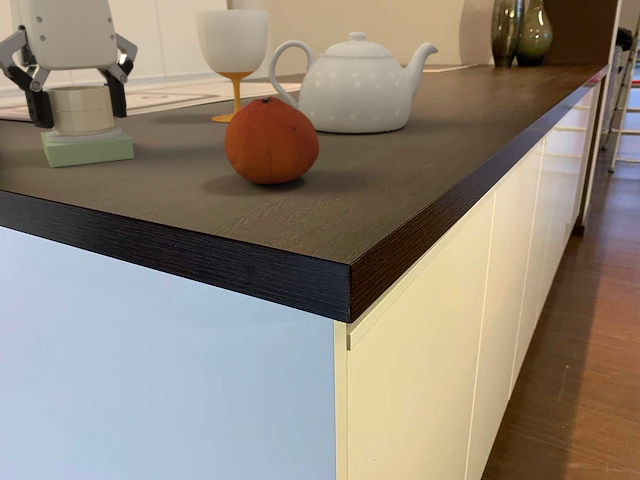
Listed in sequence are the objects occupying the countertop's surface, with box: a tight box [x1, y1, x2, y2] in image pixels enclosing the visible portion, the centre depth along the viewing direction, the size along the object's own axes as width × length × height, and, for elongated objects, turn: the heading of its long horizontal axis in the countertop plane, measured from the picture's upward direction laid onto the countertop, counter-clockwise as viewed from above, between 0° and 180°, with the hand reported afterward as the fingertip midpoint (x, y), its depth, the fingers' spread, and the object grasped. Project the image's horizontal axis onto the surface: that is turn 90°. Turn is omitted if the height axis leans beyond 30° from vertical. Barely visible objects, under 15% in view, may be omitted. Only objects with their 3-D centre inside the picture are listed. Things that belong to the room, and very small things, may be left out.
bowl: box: [44, 84, 116, 136], centre depth 63 cm, size 7×7×5 cm
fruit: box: [223, 95, 320, 185], centre depth 51 cm, size 9×9×8 cm
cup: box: [194, 9, 269, 124], centre depth 90 cm, size 12×12×17 cm
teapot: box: [267, 31, 439, 134], centre depth 81 cm, size 19×18×14 cm
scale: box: [40, 125, 135, 169], centre depth 65 cm, size 11×9×3 cm
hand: (83, 121), depth 64 cm, fingers open, 9 cm apart
